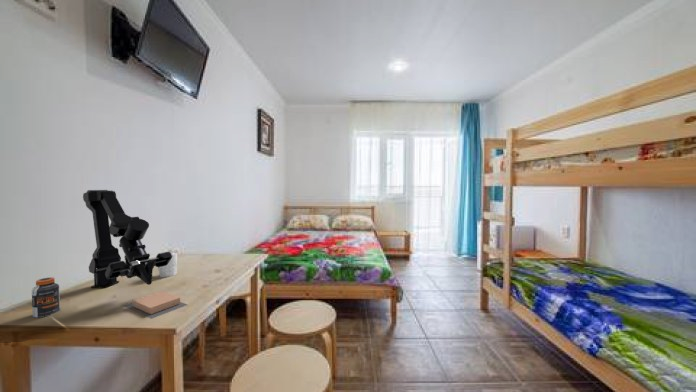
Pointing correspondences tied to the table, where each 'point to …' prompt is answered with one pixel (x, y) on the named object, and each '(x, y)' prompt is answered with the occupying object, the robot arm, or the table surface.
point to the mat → (130, 305)
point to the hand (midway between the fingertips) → (150, 283)
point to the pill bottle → (45, 297)
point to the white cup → (169, 266)
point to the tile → (156, 302)
